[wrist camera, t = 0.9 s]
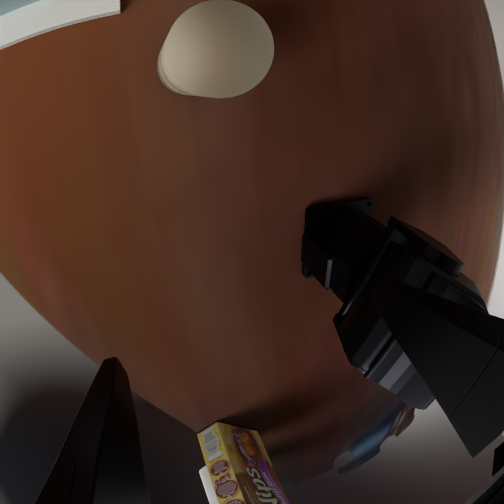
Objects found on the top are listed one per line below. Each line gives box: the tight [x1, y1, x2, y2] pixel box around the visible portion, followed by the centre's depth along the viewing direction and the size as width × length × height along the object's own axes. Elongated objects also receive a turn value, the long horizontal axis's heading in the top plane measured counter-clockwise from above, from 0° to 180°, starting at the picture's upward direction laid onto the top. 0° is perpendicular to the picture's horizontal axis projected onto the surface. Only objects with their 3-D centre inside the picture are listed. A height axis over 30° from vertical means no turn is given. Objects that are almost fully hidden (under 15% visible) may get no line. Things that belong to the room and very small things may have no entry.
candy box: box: [197, 422, 290, 504], centre depth 31 cm, size 9×4×15 cm, turn 39°
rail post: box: [156, 0, 274, 98], centre depth 13 cm, size 4×4×8 cm
